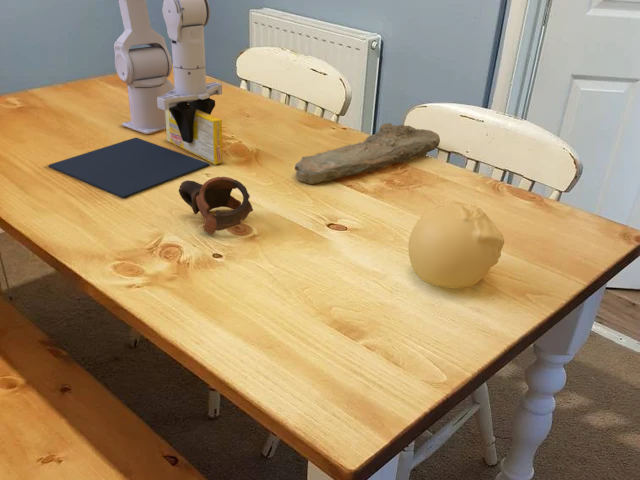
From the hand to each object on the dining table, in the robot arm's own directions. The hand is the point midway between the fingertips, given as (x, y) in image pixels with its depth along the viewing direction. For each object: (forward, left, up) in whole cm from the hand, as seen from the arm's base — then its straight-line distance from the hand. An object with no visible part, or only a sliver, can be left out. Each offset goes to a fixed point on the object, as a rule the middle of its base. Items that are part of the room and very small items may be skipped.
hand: (193, 139), depth 130 cm
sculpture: (+10, +60, -3) cm, 61 cm away
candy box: (0, 0, -3) cm, 3 cm away
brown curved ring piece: (+19, +24, -3) cm, 31 cm away
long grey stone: (-19, +28, -3) cm, 34 cm away
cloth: (+13, -3, -2) cm, 14 cm away
